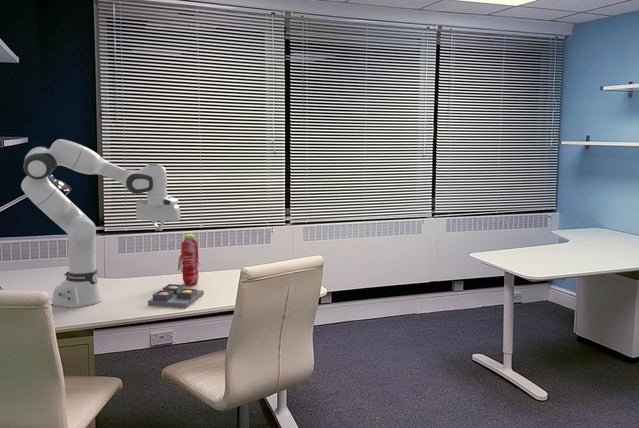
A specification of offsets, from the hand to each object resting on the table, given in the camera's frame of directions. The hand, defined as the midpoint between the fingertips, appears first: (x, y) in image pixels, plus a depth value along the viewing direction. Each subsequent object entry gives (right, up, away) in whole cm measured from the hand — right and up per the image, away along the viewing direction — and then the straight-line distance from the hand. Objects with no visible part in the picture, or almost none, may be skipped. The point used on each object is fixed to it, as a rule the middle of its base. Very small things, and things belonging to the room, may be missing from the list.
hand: (158, 230), depth 267 cm
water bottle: (+8, -27, +26) cm, 38 cm away
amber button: (+13, -30, -1) cm, 32 cm away
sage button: (+5, -28, +6) cm, 29 cm away
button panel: (+8, -32, +1) cm, 32 cm away
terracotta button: (+3, -30, -4) cm, 30 cm away
